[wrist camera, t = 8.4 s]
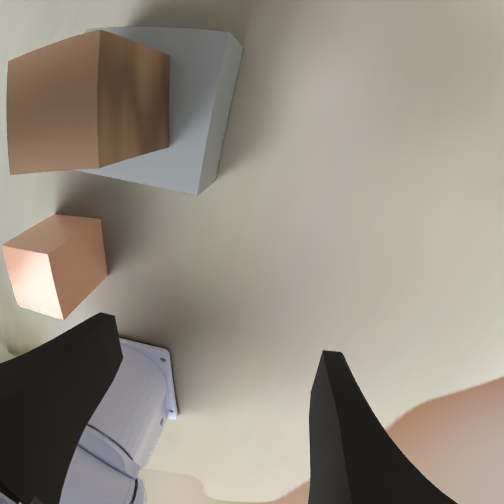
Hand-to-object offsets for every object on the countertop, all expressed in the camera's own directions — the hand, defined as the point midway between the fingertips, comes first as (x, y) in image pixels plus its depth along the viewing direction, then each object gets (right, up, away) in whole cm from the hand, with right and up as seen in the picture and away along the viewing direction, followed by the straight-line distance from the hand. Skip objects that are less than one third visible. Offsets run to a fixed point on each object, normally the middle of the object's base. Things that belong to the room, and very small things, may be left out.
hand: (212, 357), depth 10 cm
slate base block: (-4, +12, +7) cm, 15 cm away
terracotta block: (-12, +4, +12) cm, 17 cm away
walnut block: (-5, +11, +3) cm, 12 cm away
